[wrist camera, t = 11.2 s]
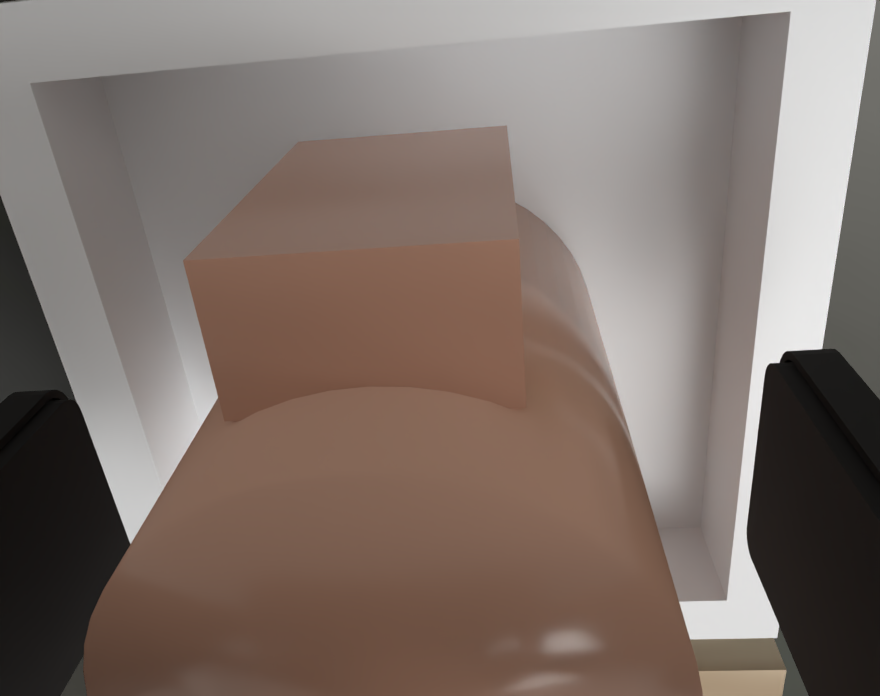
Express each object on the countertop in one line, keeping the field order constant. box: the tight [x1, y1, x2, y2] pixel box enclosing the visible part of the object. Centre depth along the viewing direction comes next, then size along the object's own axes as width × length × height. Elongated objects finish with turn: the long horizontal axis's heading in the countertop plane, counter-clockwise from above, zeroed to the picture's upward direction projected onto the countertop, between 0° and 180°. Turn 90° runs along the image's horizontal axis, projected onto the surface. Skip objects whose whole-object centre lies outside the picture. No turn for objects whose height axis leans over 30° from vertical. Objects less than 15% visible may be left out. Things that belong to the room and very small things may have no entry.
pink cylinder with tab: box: [83, 125, 703, 696], centre depth 10 cm, size 7×6×8 cm
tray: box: [0, 0, 876, 639], centre depth 13 cm, size 12×12×2 cm
